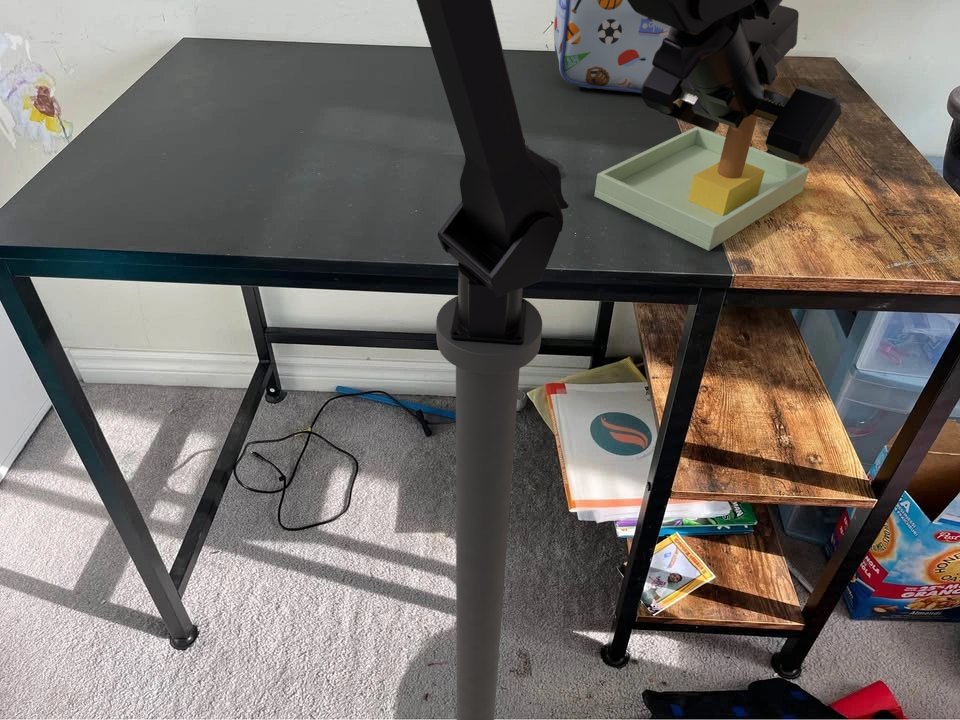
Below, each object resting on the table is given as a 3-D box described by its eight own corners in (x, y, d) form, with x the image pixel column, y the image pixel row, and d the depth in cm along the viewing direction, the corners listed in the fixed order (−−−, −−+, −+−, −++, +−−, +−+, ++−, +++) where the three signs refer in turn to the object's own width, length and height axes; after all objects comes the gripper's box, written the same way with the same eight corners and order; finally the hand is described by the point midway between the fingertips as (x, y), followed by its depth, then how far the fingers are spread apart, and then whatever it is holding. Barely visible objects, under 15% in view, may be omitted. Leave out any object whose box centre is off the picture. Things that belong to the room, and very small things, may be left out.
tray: (708, 251, 76) (714, 227, 74) (594, 196, 84) (597, 173, 83) (802, 191, 86) (810, 168, 85) (692, 147, 95) (696, 126, 93)
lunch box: (728, 75, 114) (768, -91, 100) (745, 101, 106) (790, -74, 92) (548, 70, 114) (561, -97, 100) (552, 96, 106) (566, -81, 92)
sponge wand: (722, 215, 80) (754, 96, 72) (687, 200, 83) (714, 82, 74) (757, 195, 84) (791, 78, 75) (723, 180, 86) (752, 66, 78)
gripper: (871, 2, 61) (880, 101, 74) (679, -43, 71) (718, 51, 84) (793, 122, 62) (816, 199, 75) (615, 61, 72) (663, 138, 85)
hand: (751, 141), depth 79 cm, fingers open, 9 cm apart
